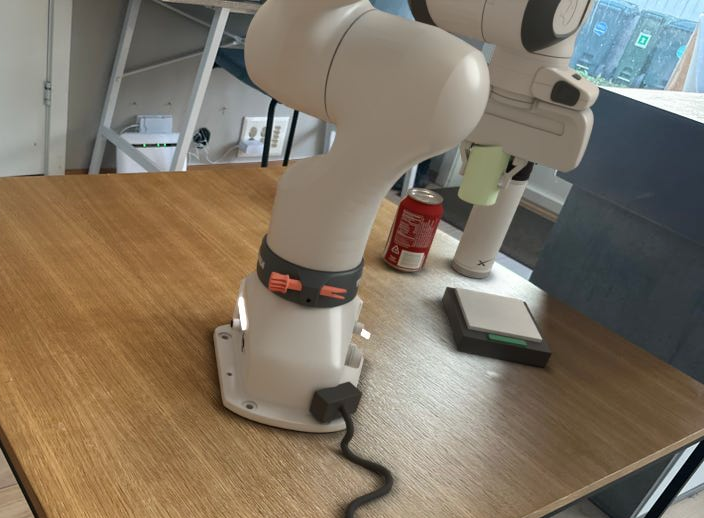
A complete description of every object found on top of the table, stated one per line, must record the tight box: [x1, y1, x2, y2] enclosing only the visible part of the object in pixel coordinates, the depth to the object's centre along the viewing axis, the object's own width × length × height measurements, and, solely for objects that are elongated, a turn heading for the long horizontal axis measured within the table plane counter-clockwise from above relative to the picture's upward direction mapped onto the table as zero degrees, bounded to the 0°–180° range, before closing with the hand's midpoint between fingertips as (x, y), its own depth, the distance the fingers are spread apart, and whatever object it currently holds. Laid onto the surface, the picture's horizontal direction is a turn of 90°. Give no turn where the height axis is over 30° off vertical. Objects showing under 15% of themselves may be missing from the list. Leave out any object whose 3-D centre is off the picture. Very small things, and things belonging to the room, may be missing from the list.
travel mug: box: [451, 155, 538, 279], centre depth 111 cm, size 6×7×20 cm
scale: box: [441, 286, 553, 368], centre depth 100 cm, size 14×12×3 cm
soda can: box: [382, 187, 444, 273], centre depth 111 cm, size 7×7×12 cm
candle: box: [457, 144, 511, 206], centre depth 93 cm, size 5×5×8 cm
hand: (483, 181), depth 94 cm, fingers closed on candle, 3 cm apart
